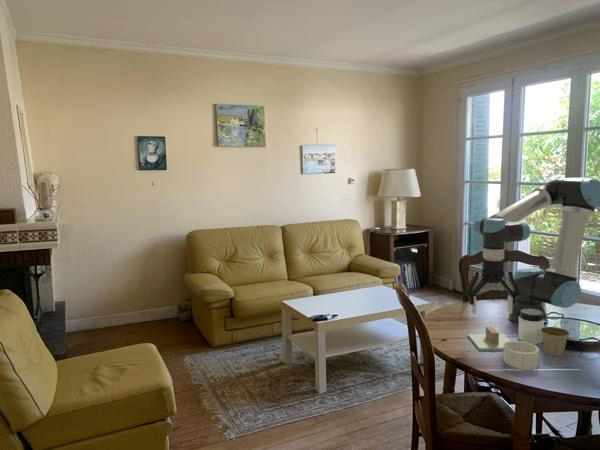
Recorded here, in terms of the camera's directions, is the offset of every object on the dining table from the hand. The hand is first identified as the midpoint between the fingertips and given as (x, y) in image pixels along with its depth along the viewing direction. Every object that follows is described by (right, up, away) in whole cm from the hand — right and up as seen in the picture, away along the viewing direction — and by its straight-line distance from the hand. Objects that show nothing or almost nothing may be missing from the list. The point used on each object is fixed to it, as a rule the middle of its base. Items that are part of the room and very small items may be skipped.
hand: (491, 312), depth 172 cm
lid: (+1, -12, +2) cm, 12 cm away
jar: (+17, -12, +4) cm, 21 cm away
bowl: (+4, -15, -15) cm, 22 cm away
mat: (+1, -13, +2) cm, 13 cm away
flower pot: (+19, -14, -8) cm, 25 cm away
